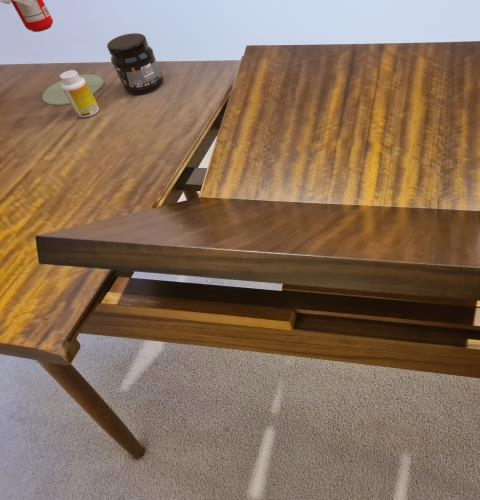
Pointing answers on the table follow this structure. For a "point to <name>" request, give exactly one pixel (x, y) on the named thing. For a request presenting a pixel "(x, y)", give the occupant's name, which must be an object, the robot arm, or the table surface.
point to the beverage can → (34, 15)
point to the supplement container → (135, 63)
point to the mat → (58, 97)
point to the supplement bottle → (79, 94)
